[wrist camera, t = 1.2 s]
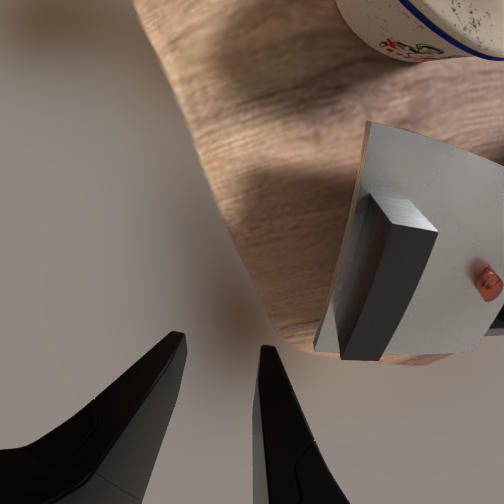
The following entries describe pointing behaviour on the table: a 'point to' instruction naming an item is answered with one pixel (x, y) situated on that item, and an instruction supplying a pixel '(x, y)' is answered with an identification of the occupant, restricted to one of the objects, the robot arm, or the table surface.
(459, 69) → the table surface
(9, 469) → the robot arm
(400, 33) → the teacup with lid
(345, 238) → the box lid
